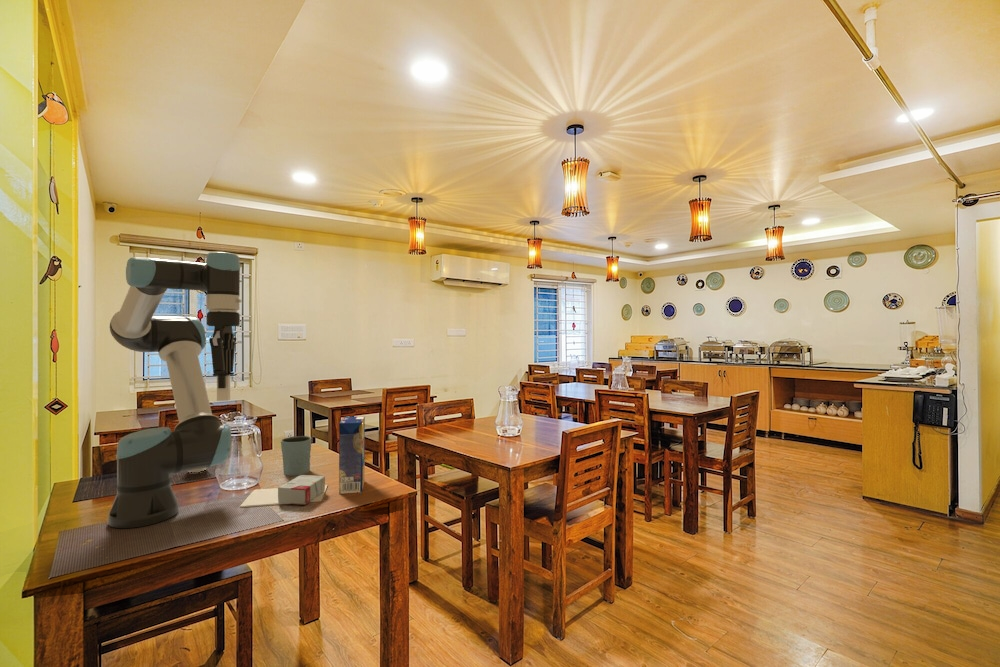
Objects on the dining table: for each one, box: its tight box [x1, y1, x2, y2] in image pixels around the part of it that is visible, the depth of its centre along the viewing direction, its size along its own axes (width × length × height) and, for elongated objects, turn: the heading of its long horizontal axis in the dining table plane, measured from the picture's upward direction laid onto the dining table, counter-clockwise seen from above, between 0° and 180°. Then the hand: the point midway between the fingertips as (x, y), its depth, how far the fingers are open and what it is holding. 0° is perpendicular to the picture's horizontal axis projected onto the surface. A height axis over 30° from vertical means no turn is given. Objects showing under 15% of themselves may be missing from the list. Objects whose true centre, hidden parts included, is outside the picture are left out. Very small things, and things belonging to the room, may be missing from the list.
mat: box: [239, 484, 329, 508], centre depth 143 cm, size 22×14×1 cm, turn 103°
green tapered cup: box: [280, 435, 312, 477], centre depth 167 cm, size 10×10×12 cm
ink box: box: [277, 474, 326, 506], centre depth 141 cm, size 9×5×12 cm
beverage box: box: [338, 415, 366, 495], centre depth 151 cm, size 7×11×22 cm, turn 12°
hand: (223, 400), depth 123 cm, fingers closed
